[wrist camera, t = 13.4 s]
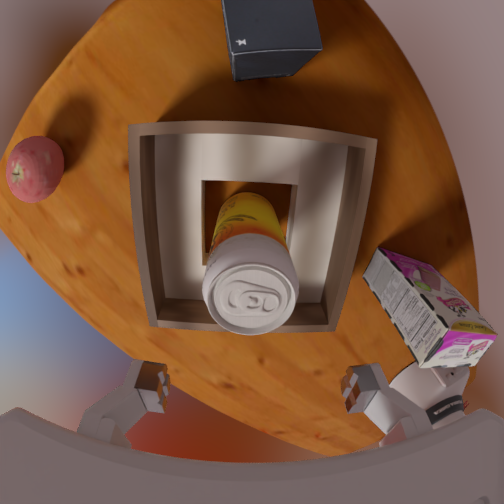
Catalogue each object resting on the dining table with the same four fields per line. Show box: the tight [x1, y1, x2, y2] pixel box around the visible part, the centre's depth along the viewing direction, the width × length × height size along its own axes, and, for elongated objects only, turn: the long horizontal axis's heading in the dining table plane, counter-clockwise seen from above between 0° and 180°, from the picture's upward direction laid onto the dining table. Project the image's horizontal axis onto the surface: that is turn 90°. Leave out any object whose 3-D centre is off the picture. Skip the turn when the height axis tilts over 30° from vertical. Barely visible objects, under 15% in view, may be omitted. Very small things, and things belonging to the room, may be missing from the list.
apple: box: [6, 136, 64, 203], centre depth 21 cm, size 7×7×8 cm
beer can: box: [202, 192, 299, 335], centre depth 23 cm, size 6×6×15 cm
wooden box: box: [128, 121, 378, 333], centre depth 26 cm, size 20×20×7 cm
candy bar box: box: [363, 247, 498, 368], centre depth 26 cm, size 11×5×16 cm, turn 74°
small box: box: [221, 0, 323, 82], centre depth 16 cm, size 11×6×10 cm, turn 8°
